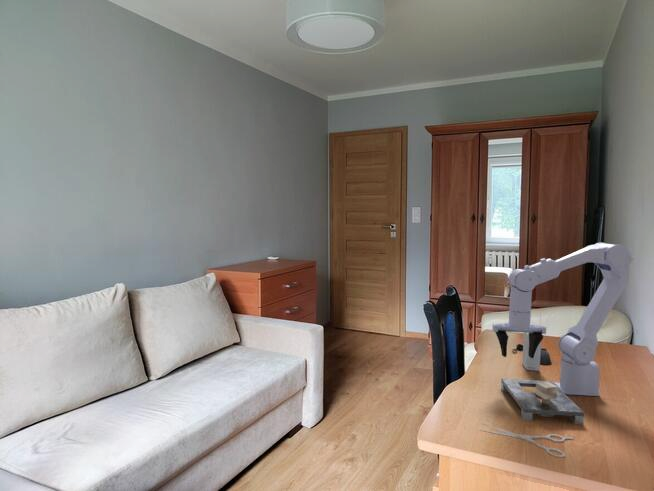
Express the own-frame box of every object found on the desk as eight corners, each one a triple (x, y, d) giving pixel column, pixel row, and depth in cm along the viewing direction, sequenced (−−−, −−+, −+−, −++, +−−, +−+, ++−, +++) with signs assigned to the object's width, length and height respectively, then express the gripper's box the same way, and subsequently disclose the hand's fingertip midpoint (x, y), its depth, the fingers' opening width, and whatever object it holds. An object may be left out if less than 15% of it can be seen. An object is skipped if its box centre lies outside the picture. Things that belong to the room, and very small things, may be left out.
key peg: (545, 408, 117) (547, 380, 116) (558, 416, 112) (560, 387, 112) (531, 410, 115) (533, 382, 115) (544, 417, 111) (545, 388, 111)
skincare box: (539, 371, 144) (542, 335, 143) (526, 370, 145) (528, 334, 144) (535, 365, 150) (537, 330, 149) (521, 363, 151) (523, 329, 150)
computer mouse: (513, 362, 154) (514, 351, 153) (511, 348, 170) (512, 338, 170) (552, 367, 149) (553, 356, 149) (547, 352, 166) (547, 342, 165)
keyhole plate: (551, 391, 128) (551, 381, 128) (583, 424, 108) (584, 412, 108) (501, 388, 129) (501, 378, 129) (523, 420, 110) (524, 408, 109)
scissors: (573, 460, 92) (473, 434, 102) (572, 463, 92) (473, 437, 102) (573, 437, 101) (482, 415, 111) (573, 440, 101) (482, 418, 111)
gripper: (540, 308, 132) (537, 353, 133) (490, 306, 133) (488, 350, 134) (550, 314, 125) (547, 361, 126) (497, 312, 126) (495, 358, 127)
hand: (517, 356), depth 129 cm, fingers open, 7 cm apart
